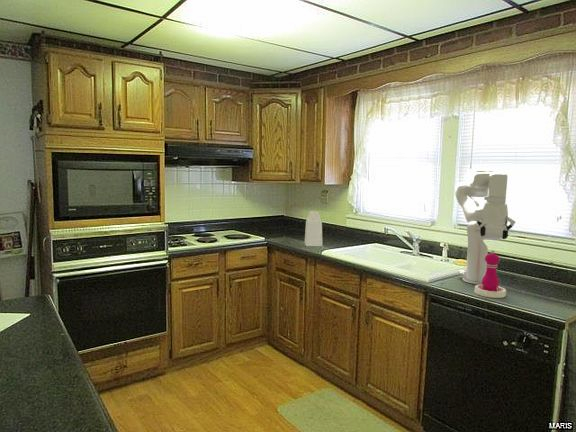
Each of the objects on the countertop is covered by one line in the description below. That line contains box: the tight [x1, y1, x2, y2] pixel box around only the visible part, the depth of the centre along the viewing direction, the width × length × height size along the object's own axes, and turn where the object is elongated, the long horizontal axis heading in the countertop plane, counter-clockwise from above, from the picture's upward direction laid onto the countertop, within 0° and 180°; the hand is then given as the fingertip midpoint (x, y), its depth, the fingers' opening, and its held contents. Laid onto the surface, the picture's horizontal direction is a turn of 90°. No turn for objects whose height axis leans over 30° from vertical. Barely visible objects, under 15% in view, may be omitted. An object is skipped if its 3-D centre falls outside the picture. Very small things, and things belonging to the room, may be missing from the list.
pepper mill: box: [482, 249, 500, 292], centre depth 192 cm, size 7×7×20 cm
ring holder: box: [473, 284, 507, 299], centre depth 193 cm, size 13×13×3 cm
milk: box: [304, 210, 323, 247], centre depth 302 cm, size 12×12×26 cm
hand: (493, 237), depth 190 cm, fingers open, 9 cm apart
